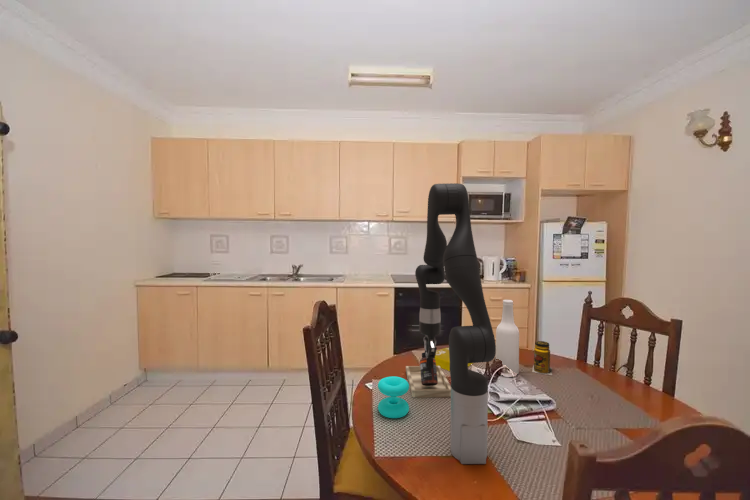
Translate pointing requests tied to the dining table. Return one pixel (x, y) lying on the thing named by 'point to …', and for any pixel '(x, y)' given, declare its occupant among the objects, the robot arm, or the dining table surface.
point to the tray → (427, 391)
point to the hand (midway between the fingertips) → (429, 367)
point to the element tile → (444, 359)
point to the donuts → (393, 397)
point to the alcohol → (508, 338)
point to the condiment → (542, 358)
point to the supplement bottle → (428, 372)
